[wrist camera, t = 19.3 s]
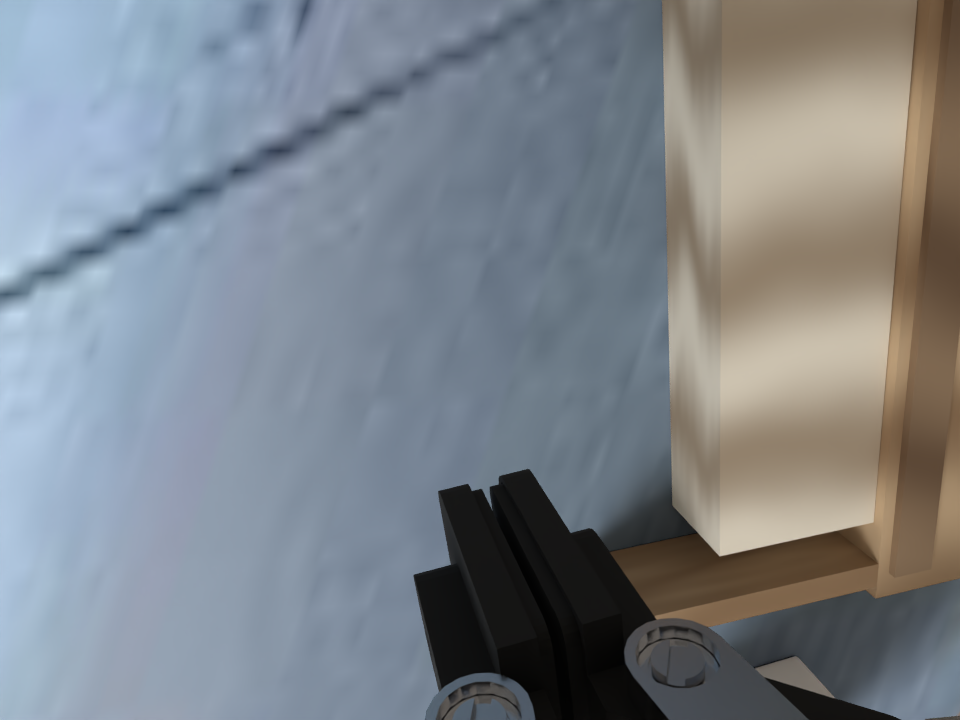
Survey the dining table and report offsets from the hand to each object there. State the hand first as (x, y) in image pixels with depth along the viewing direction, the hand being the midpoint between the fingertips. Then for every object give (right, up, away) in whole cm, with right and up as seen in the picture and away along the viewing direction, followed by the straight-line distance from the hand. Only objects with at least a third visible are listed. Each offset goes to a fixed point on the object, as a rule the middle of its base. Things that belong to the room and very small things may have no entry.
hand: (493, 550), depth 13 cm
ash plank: (+9, +8, +13) cm, 18 cm away
